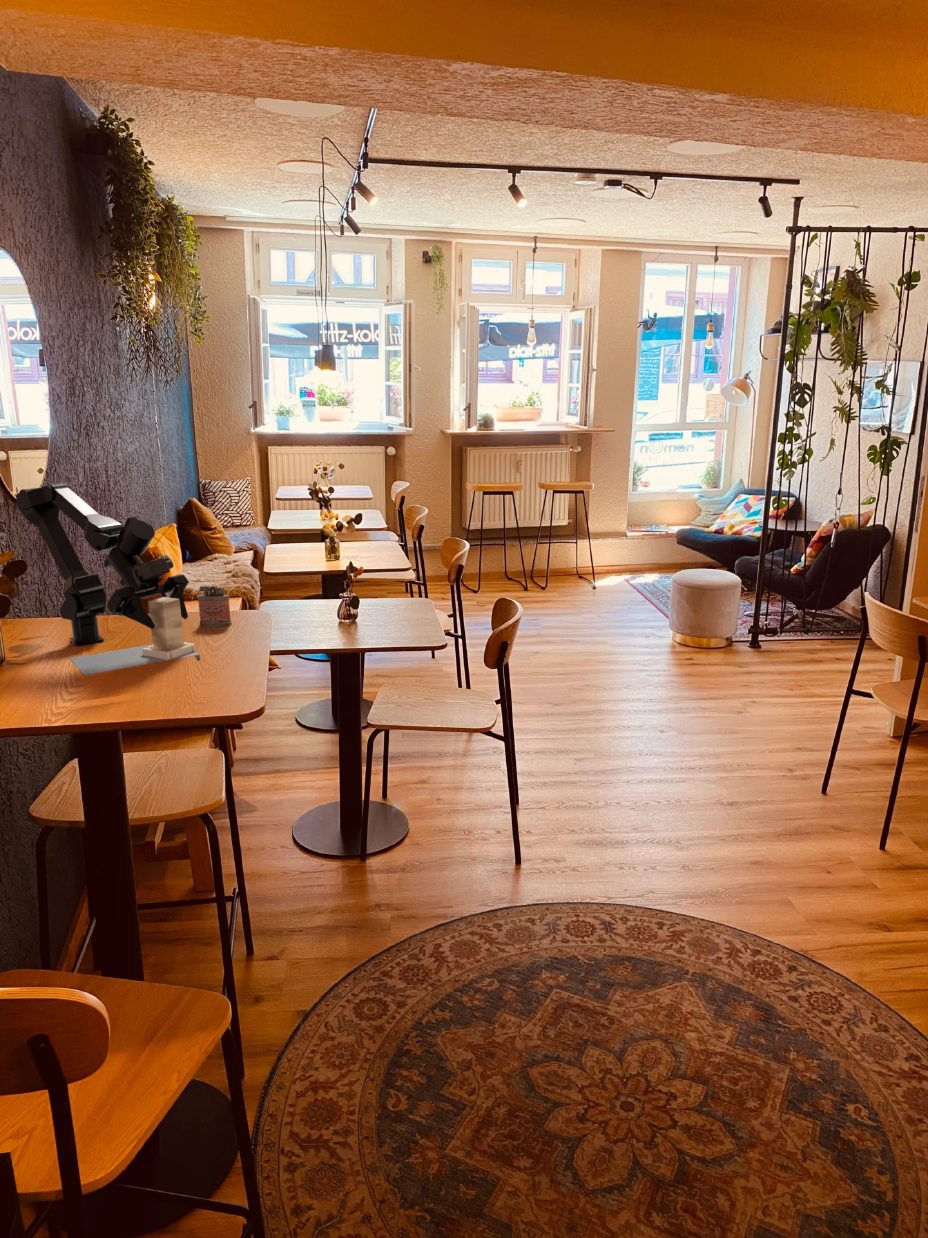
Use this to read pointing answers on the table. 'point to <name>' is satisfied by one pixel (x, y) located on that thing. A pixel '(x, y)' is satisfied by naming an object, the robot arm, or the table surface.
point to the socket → (171, 654)
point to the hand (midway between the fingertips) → (170, 622)
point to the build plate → (118, 660)
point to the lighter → (214, 606)
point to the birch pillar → (166, 624)
